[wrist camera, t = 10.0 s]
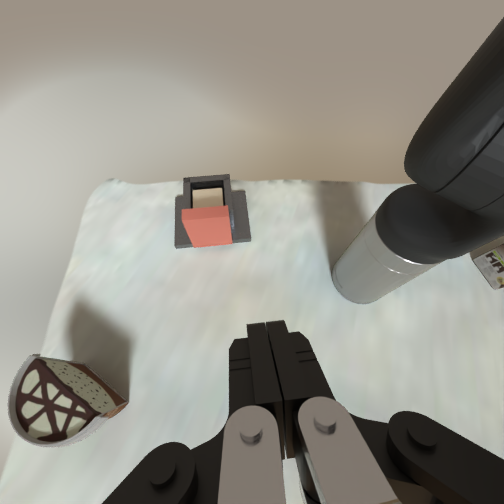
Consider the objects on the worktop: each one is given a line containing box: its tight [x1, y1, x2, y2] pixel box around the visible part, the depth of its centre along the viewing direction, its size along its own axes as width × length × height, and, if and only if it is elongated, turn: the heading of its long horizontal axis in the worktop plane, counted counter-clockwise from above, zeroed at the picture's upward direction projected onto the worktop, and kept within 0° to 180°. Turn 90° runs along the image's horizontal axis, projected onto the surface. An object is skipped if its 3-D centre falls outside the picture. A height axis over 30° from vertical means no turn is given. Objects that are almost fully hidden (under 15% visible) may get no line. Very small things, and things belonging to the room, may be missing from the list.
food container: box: [8, 354, 129, 447], centre depth 32 cm, size 12×6×10 cm, turn 57°
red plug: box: [182, 188, 232, 248], centre depth 44 cm, size 7×9×9 cm
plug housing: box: [175, 174, 251, 249], centre depth 47 cm, size 14×11×6 cm
